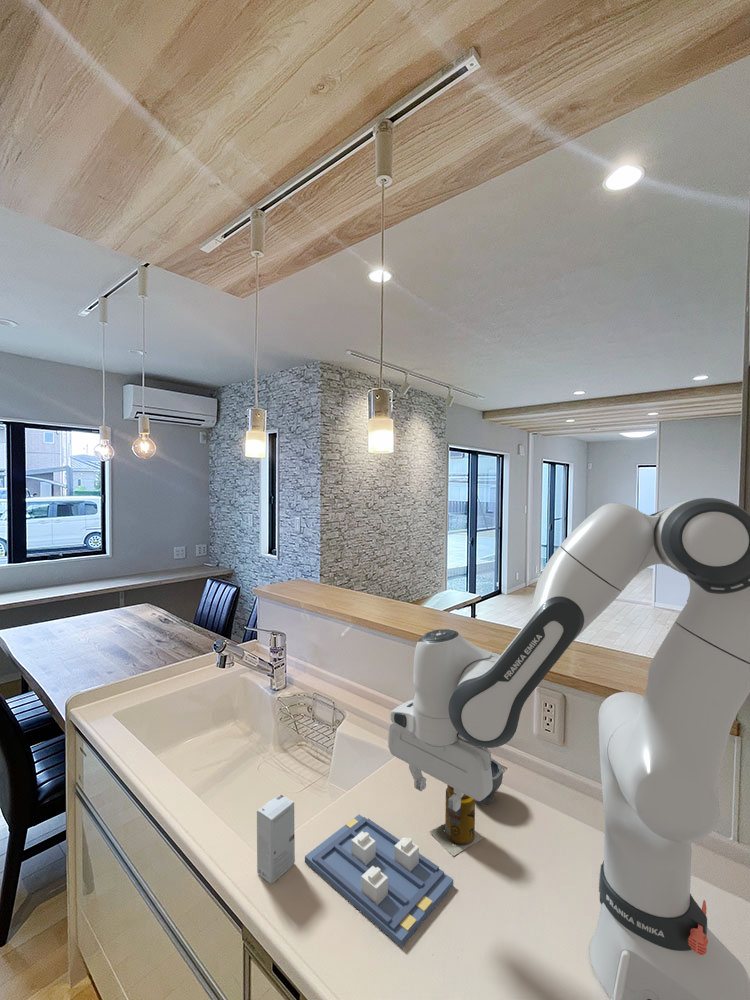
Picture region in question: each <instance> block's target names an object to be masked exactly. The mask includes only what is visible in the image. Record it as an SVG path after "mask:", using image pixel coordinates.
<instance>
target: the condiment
mask: <svg viewBox="0 0 750 1000" xmlns="http://www.w3.org/2000/svg"><path fill="white" fill-rule="evenodd" d="M453 794H455V793H454V788H453V787H451V786H449V785H447V787H446V789H445V822H444V823H443V824H441V825H439V826H437V827H435V828H433V829H432V830H430V831H429V833H430V834H431V836H432V837H433V838H434V839H436V841H438V843H439V844H440V845H441V846H442V847H443V848H444V849H445V850H446V851H447V852H448V853H450V854H451V855H452V856H453V857H455V856H456V855H457V854H460V853H461V852H463V851H464V850H466V849H468V848H470V847H472V846H474V845H475V844H476V843H478V842H479V841H481V840H483V839H484V838H485V837H484V836H482V835H481V833H479V832H478V831H476V829H475V828H476V827H475V824H476V822H475V821H476V819H475V817H476V803H475V799H473V798H471V797H469V796H467V795H466V794H464V795H463V797H462V798H461V807H460V809H459V810H458V811H457V812H455V811H454V810H452V809H450V808H449V807H448V805H449V803H448V799H449V798H450V797H452V795H453ZM455 795H457V794H455Z"/></svg>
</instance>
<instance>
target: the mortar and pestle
mask: <svg viewBox="0 0 750 1000" xmlns="http://www.w3.org/2000/svg"><path fill="white" fill-rule="evenodd" d="M491 770H492V783H493V787H492V791H491V792H490V794H489V795H488V796H487V797H486V798H484V799H483V800H481V801H477V800H475V804H477V805H481V806H484V805H490V804H492V803H493V801H494V800H495V793H496V792H497V791H498V790H499V789H500V787H501V786H502V784H503V777H504V776H503V773H504V771H503V767H502V766H501V763H500V762H498V761H497V760H496V759H494V758H492V757H491Z"/></svg>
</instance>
